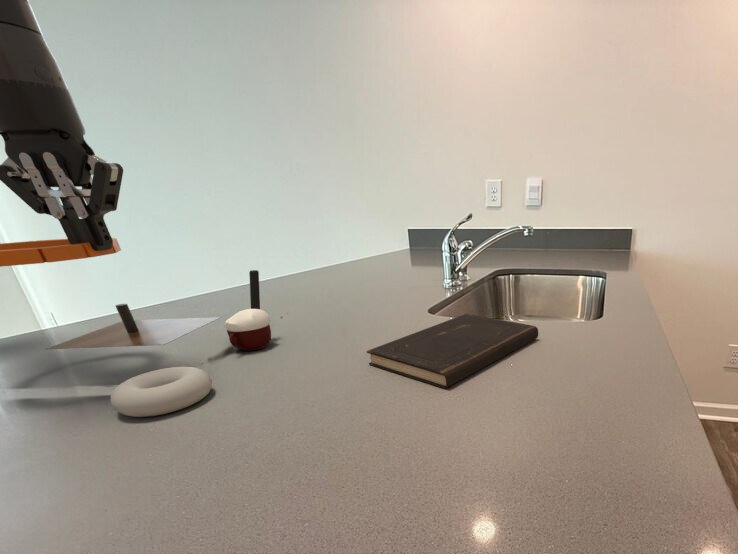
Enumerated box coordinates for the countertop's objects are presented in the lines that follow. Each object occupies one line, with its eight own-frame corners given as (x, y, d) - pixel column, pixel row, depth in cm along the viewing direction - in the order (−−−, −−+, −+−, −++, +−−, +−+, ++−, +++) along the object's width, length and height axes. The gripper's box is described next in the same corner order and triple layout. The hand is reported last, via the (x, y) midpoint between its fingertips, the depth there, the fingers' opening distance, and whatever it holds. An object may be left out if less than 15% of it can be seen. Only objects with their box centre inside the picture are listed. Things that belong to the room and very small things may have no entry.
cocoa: (241, 359, 65) (215, 283, 59) (218, 353, 67) (192, 279, 62) (294, 340, 72) (275, 271, 67) (271, 335, 75) (252, 269, 70)
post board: (49, 357, 67) (27, 319, 64) (126, 327, 82) (112, 295, 79) (167, 353, 68) (151, 315, 65) (223, 324, 82) (212, 292, 79)
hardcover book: (369, 365, 61) (366, 350, 60) (467, 325, 78) (466, 313, 77) (447, 390, 53) (446, 374, 52) (538, 339, 70) (538, 326, 69)
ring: (-93, 270, 45) (-103, 255, 44) (40, 251, 58) (34, 239, 57) (47, 265, 45) (39, 250, 45) (147, 247, 59) (142, 236, 58)
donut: (143, 391, 55) (97, 428, 46) (133, 368, 54) (83, 401, 45) (227, 381, 57) (197, 414, 48) (219, 359, 56) (187, 388, 47)
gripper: (113, 90, 48) (171, 244, 55) (-9, 92, 47) (66, 248, 55) (51, 73, 41) (127, 252, 48) (-91, 76, 40) (7, 256, 48)
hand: (94, 249), depth 52 cm, fingers closed on ring, 1 cm apart
